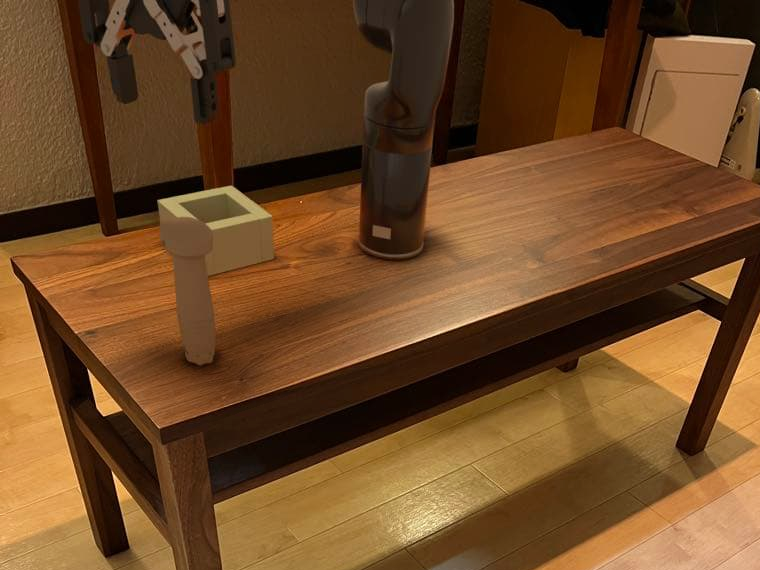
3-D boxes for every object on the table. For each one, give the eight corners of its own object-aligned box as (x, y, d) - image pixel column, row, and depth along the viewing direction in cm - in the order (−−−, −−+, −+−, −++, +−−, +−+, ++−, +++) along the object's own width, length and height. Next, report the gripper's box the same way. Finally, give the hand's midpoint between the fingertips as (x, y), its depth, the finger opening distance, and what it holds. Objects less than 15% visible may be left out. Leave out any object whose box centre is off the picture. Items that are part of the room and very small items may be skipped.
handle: (191, 378, 88) (175, 248, 78) (169, 349, 92) (150, 221, 81) (232, 367, 90) (221, 239, 80) (209, 340, 94) (195, 213, 83)
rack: (234, 227, 115) (231, 185, 111) (274, 259, 109) (272, 215, 105) (163, 243, 110) (157, 200, 105) (201, 278, 104) (196, 233, 100)
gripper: (244, -108, 62) (255, 118, 73) (96, -134, 65) (129, 85, 77) (185, -99, 57) (207, 141, 68) (29, -128, 60) (74, 105, 72)
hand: (166, 111), depth 73 cm, fingers open, 8 cm apart
